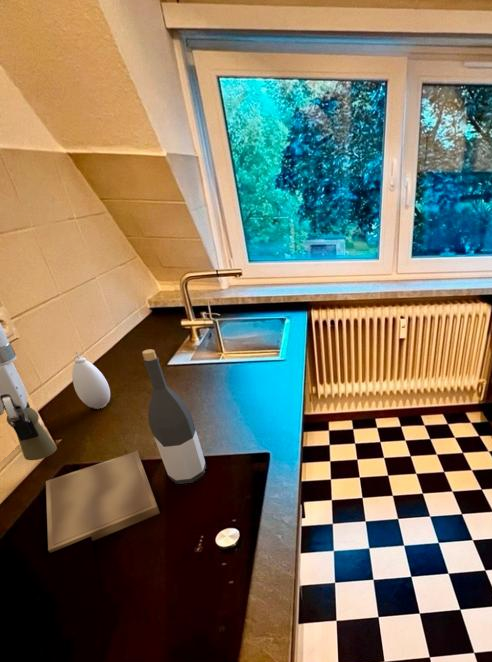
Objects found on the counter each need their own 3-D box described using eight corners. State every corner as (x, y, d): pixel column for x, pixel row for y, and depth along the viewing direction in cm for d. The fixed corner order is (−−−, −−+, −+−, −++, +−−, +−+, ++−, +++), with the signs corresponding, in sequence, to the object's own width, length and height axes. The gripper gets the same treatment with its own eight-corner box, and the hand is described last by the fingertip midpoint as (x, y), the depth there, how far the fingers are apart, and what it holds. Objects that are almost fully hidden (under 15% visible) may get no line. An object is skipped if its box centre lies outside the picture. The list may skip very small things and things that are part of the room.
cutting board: (53, 557, 69) (47, 550, 68) (49, 487, 84) (45, 480, 83) (160, 513, 78) (157, 506, 77) (139, 457, 93) (137, 450, 92)
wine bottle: (211, 477, 87) (175, 353, 70) (173, 490, 83) (126, 364, 67) (202, 458, 92) (167, 339, 76) (166, 469, 89) (121, 348, 73)
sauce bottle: (80, 407, 112) (53, 350, 102) (109, 397, 117) (86, 341, 107) (91, 417, 108) (63, 358, 98) (120, 406, 113) (97, 348, 103)
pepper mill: (58, 441, 91) (39, 401, 86) (54, 456, 87) (33, 414, 81) (27, 448, 89) (5, 407, 83) (21, 463, 85) (-3, 421, 79)
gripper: (-31, 345, 79) (10, 419, 89) (-43, 375, 68) (6, 457, 77) (15, 338, 83) (49, 410, 93) (12, 365, 71) (51, 445, 81)
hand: (29, 430), depth 85 cm, fingers closed on pepper mill, 5 cm apart
